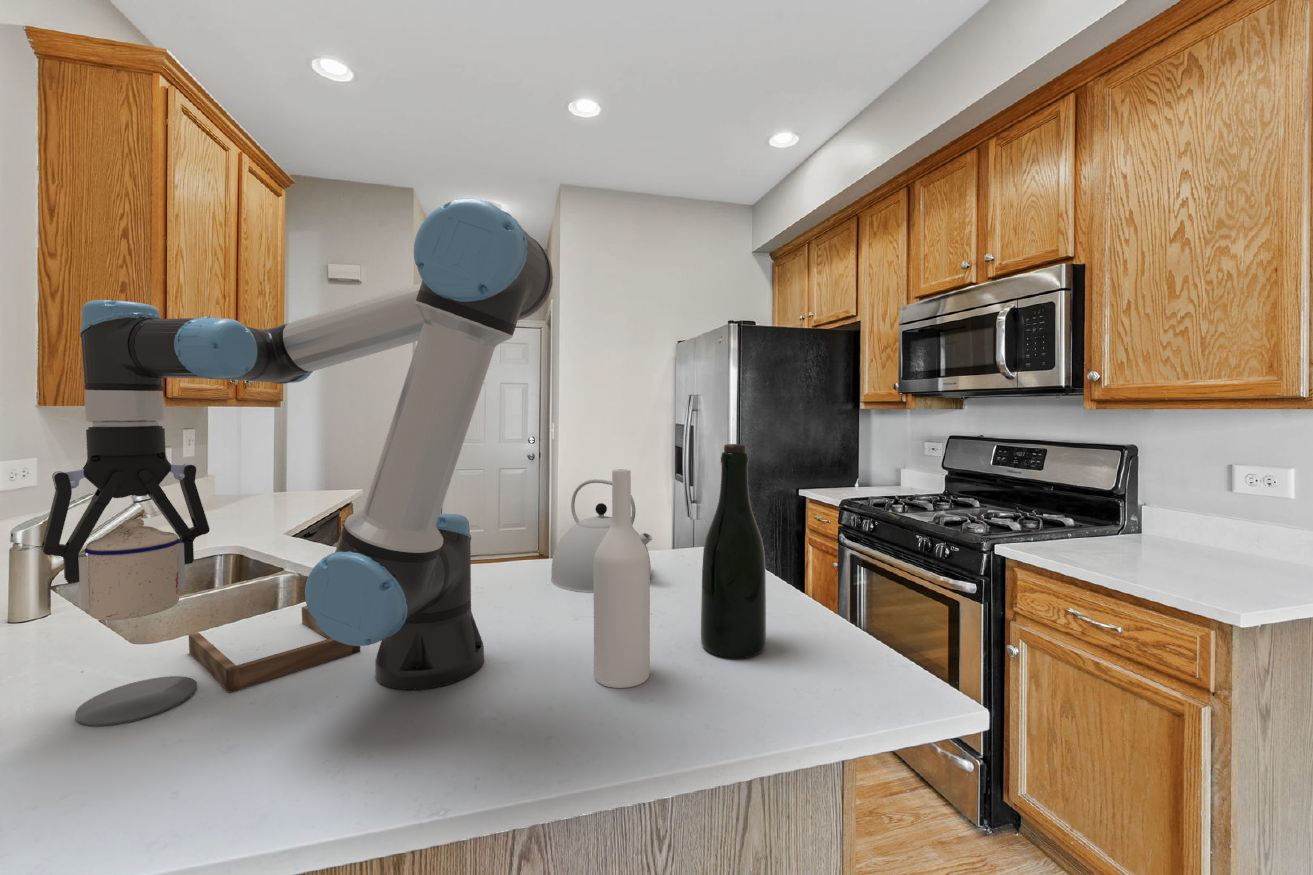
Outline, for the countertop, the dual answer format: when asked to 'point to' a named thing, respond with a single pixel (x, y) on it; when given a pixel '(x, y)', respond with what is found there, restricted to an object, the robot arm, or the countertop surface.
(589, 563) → the kettle
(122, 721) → the coaster
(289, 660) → the wooden tray
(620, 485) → the bottle
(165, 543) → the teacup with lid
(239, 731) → the countertop surface
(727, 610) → the dark green wine bottle
